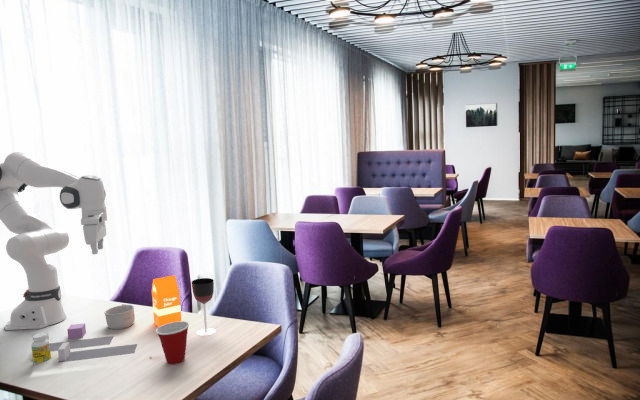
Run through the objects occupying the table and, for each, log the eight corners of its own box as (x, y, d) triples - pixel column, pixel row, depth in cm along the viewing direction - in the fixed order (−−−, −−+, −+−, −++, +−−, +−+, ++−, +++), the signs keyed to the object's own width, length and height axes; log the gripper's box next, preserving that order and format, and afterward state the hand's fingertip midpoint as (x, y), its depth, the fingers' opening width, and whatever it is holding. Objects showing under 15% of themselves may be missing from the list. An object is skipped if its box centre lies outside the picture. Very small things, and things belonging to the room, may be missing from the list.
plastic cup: (164, 354, 170) (162, 320, 169) (195, 353, 170) (193, 319, 168) (153, 368, 159) (150, 332, 158) (186, 367, 159) (183, 331, 157)
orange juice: (182, 325, 196) (178, 276, 194) (159, 331, 192) (155, 281, 189) (175, 320, 203) (172, 273, 201) (154, 325, 198) (150, 277, 196)
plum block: (68, 342, 184) (67, 329, 184) (72, 337, 189) (71, 324, 189) (83, 340, 186) (81, 327, 185) (86, 335, 190) (85, 323, 190)
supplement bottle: (53, 358, 171) (50, 331, 169) (48, 364, 165) (45, 337, 164) (36, 360, 169) (33, 333, 168) (31, 366, 164) (27, 339, 163)
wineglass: (202, 337, 183) (198, 285, 181) (191, 331, 189) (187, 281, 187) (221, 331, 188) (217, 281, 186) (209, 326, 195) (206, 276, 192)
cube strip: (37, 355, 173) (35, 341, 172) (44, 346, 180) (43, 333, 180) (109, 346, 178) (108, 333, 177) (114, 338, 185) (112, 325, 185)
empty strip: (58, 365, 164) (56, 350, 163) (65, 355, 172) (63, 341, 171) (134, 355, 169) (133, 341, 169) (137, 346, 177) (136, 333, 176)
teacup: (128, 332, 191) (127, 312, 190) (101, 333, 192) (99, 313, 191) (142, 320, 205) (140, 301, 204) (116, 320, 205) (115, 302, 204)
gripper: (92, 214, 203) (95, 247, 205) (79, 221, 183) (83, 257, 185) (108, 213, 204) (111, 245, 206) (97, 220, 184) (101, 256, 186)
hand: (97, 251), depth 195 cm, fingers open, 8 cm apart
